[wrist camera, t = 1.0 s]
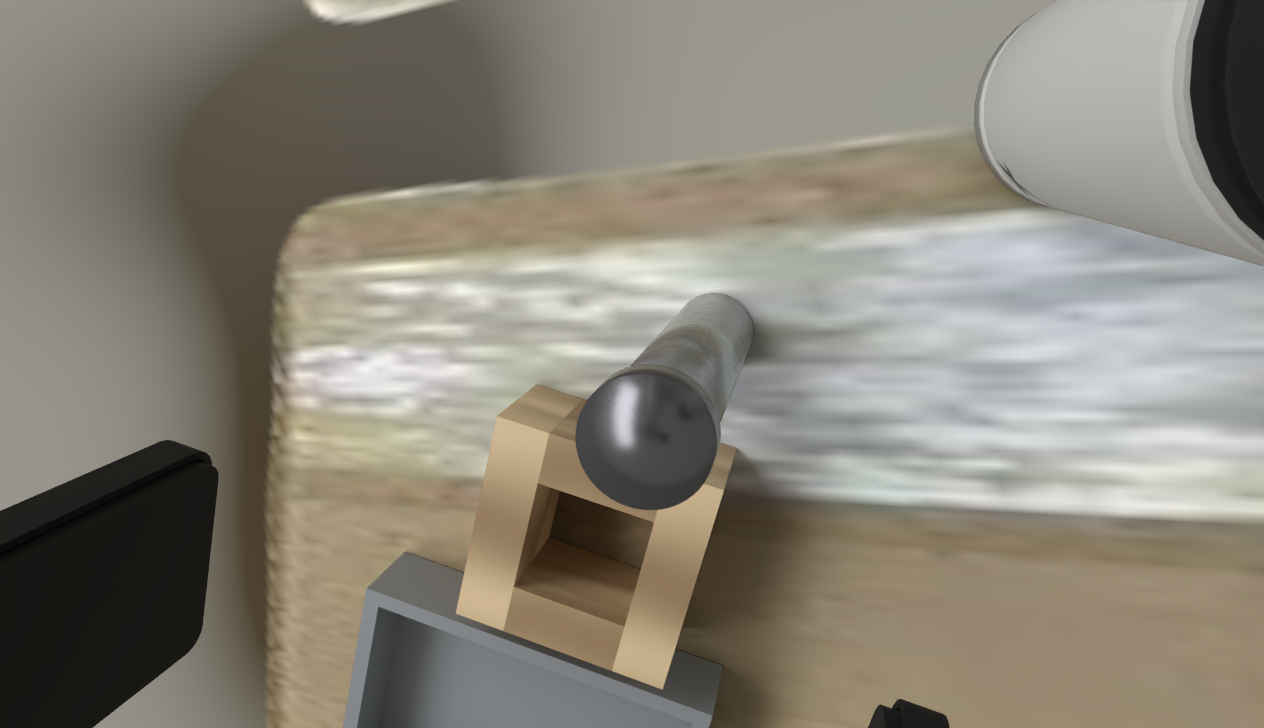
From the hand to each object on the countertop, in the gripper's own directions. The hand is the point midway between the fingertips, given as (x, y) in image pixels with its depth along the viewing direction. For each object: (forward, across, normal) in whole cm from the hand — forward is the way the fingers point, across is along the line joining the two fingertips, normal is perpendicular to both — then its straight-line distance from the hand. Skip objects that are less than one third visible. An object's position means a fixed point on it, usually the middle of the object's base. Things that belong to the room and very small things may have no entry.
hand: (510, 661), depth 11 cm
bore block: (+20, +2, +8) cm, 22 cm away
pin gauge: (+20, 0, 0) cm, 20 cm away
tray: (+20, +3, +18) cm, 27 cm away
